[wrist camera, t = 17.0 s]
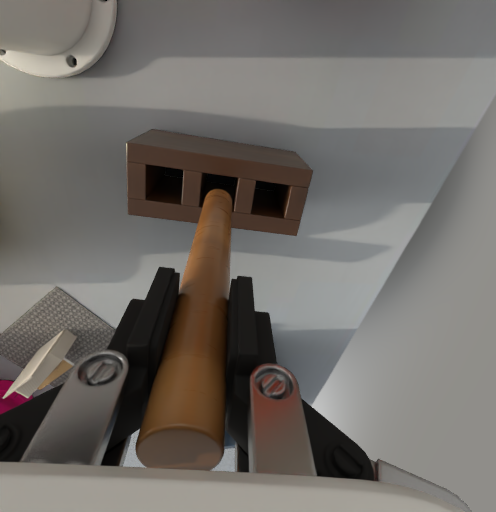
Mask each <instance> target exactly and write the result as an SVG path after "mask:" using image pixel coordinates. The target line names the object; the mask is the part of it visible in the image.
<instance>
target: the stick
mask: <svg viewBox="0 0 496 512" xmlns="http://www.w3.org/2000/svg"><path fill="white" fill-rule="evenodd" d="M231 220H232V199H231V197H230V195H229V194H228V193H227V192H226V191H224V190H222V189H214V190H212V191H210V192H209V193H208V194H207V195H206V197H205V201H204V204H203V208H202V211H201V215H200V218H199V222H198V226H197V229H196V233H195V236H194V240H193V243H192V247H191V250H190V254H189V257H188V261H187V265H186V268H185V272H184V275H183V279H182V282H181V286H180V289H179V294H178V298H177V302H176V305H175V309H174V313H173V316H172V320H171V323H170V327H169V331H168V334H167V338H166V341H165V345H164V349H163V352H162V356H161V359H160V363H159V367H158V370H157V374H156V376H155V378H154V382H153V385H152V389H151V392H150V396H149V400H148V403H147V407H146V410H145V414H144V417H143V421H142V424H141V428H140V431H139V435H138V439H137V442H136V455H137V457H138V459H139V461H140V462H141V463H142V464H143V465H144V466H145V467H147V468H163V469H184V470H205V471H210V470H212V469H213V468H215V467H216V466H217V465H218V464H219V463H220V461H221V459H222V457H223V455H224V445H225V413H226V353H227V324H228V299H229V284H230V252H231Z"/></svg>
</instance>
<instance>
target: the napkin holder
mask: <svg viewBox="0 0 496 512" xmlns="http://www.w3.org/2000/svg"><path fill="white" fill-rule="evenodd" d="M77 338H78V337H77V336H75V335H74V334H72V333H71V332H69V331H68V330H64V329H63V330H62V331H60V332H59V333H58V334H57V335H55V336H54V337H53V338H51V339H50V340H49V341H48V342H46V343H45V344H44V345H43V346H41V347H40V348H39V349H38V350H37V351H36V352H35V354H34V355H33V356H32V358H31V359H30V360H29V362H28V363H27V364H26V366H25V367H24V368H23V369H24V370H23V371H22V372H21V374H20V375H19V376H18V378H17V379H16V380H15V382H14V383H13V384H12V386H11V387H10V388H9V390H8V391H7V392H6V394H5V395H4V396H3V399H5V398H6V397H7V396H8V395H10V394H11V393H12V392H14V391H16V392H17V393H18V394H21V395H23V396H25V397H26V398H29V397H30V396H31V395H32V394H33V392H34V391H35V390H36V389H39V390H41V389H42V388H44V387H45V386H47V385H48V384H51V383H52V382H53V381H55V380H56V379H58V378H59V377H60V376H62V375H63V374H64V373H66V372H67V371H69V370H70V369H72V368H73V367H74V366H75V363H74V362H72V361H71V360H69V359H68V358H66V355H67V354H68V352H69V351H70V349H71V347H72V346H73V344H74V343H75V341H76V339H77ZM18 394H17V395H18ZM17 395H16V396H17ZM16 396H15V397H16ZM15 397H14V398H15Z"/></svg>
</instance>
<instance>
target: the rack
mask: <svg viewBox="0 0 496 512" xmlns="http://www.w3.org/2000/svg"><path fill="white" fill-rule="evenodd" d="M126 158H127V197H128V214H129V215H137V216H145V217H153V218H161V219H168V220H176V221H184V222H192V223H198V222H199V218H200V215H201V211H202V208H203V204H204V201H205V197H206V195H207V194H208V193H209V192H210V191H212V190H214V189H222V190H224V191H226V192H227V193H228V194H229V195H230V197H231V199H232V220H231V228H238V229H246V230H254V231H262V232H270V233H277V234H285V235H293V236H297V233H298V229H299V225H300V220H301V217H302V213H303V209H304V205H305V201H306V197H307V193H308V188H309V185H310V181H311V177H312V173H313V170H312V169H311V168H310V167H309V166H308V165H307V164H306V163H305V162H304V161H303V160H302V158H301V157H300V156H299V155H298V154H297V153H296V152H294V151H287V150H281V149H275V148H268V147H262V146H256V145H249V144H243V143H237V142H230V141H224V140H218V139H211V138H205V137H199V136H192V135H186V134H180V133H173V132H167V131H161V130H154V129H152V130H150V131H148V132H146V133H144V134H142V135H140V136H138V137H136V138H134V139H132V140H130V141H128V142H126ZM166 167H168V168H175V169H182V170H184V172H183V178H181V177H174V176H167V175H165V171H166ZM208 173H210V174H216V175H223V176H230V177H235V181H234V185H229V184H222V183H215V182H208V181H207V175H208ZM256 180H258V181H264V182H271V183H275V187H274V191H271V190H264V189H257V188H255V186H256Z"/></svg>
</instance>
